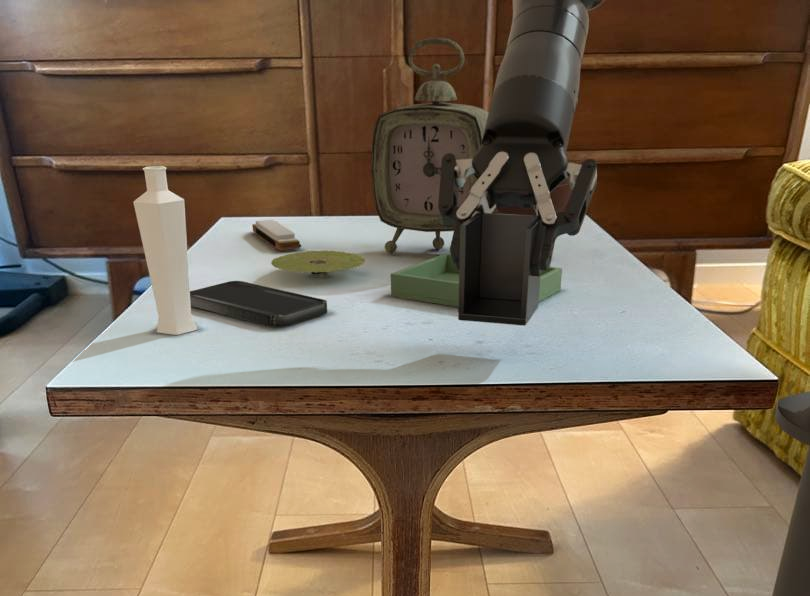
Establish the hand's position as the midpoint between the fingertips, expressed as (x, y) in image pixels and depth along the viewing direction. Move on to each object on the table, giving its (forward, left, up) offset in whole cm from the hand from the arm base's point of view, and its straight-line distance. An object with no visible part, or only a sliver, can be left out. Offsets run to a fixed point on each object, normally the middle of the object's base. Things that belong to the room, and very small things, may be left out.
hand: (497, 267), depth 75 cm
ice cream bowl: (+15, -39, -8) cm, 42 cm away
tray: (+12, -20, -8) cm, 25 cm away
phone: (+29, -2, -8) cm, 31 cm away
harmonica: (+50, -30, -8) cm, 59 cm away
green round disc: (+32, -17, -8) cm, 37 cm away
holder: (0, -2, -4) cm, 5 cm away
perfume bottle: (+31, +8, -8) cm, 33 cm away
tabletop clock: (+27, -36, -8) cm, 46 cm away
